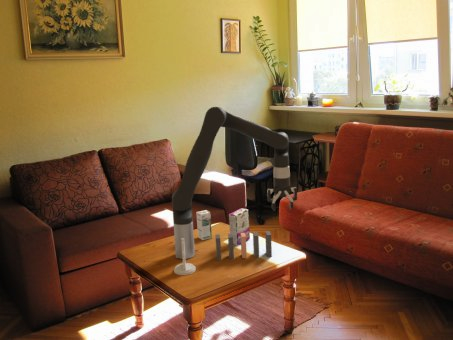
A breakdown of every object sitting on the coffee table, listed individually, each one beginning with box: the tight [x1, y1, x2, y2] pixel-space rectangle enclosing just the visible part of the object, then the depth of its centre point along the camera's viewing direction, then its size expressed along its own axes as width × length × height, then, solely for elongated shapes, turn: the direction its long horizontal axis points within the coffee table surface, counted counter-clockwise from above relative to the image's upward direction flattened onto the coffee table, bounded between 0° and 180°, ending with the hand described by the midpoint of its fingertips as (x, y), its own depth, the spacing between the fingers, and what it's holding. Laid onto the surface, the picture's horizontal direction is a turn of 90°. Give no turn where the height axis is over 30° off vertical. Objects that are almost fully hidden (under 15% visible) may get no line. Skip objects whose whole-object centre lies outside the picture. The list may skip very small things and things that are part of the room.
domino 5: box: [264, 230, 273, 258], centre depth 226 cm, size 2×5×11 cm, turn 4°
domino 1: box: [214, 234, 222, 261], centre depth 225 cm, size 2×5×11 cm, turn 4°
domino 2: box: [227, 233, 235, 261], centre depth 225 cm, size 2×5×11 cm, turn 4°
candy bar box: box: [228, 208, 251, 247], centre depth 243 cm, size 11×5×16 cm, turn 143°
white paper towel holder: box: [173, 238, 197, 276], centre depth 213 cm, size 10×10×15 cm
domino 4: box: [252, 231, 260, 259], centre depth 226 cm, size 2×5×11 cm, turn 4°
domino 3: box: [240, 233, 248, 259], centre depth 225 cm, size 2×5×11 cm, turn 4°
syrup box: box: [195, 209, 213, 241], centre depth 251 cm, size 6×6×14 cm
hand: (282, 209), depth 223 cm, fingers open, 7 cm apart
